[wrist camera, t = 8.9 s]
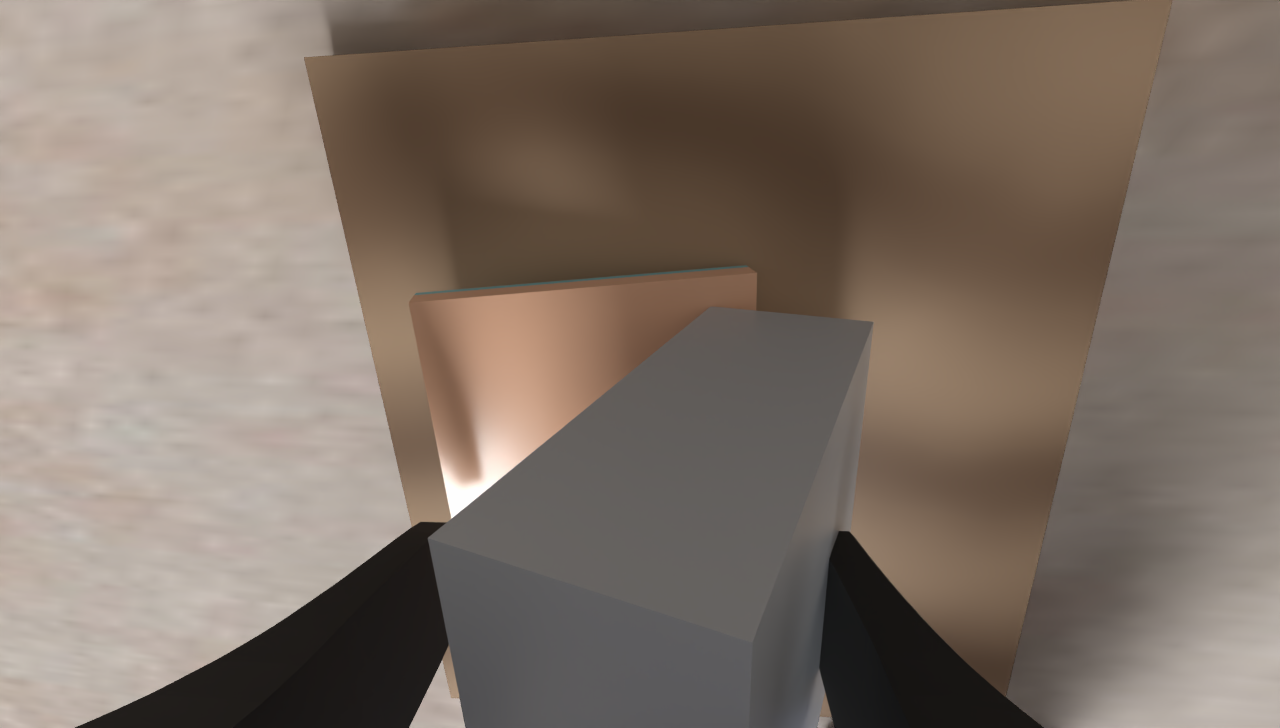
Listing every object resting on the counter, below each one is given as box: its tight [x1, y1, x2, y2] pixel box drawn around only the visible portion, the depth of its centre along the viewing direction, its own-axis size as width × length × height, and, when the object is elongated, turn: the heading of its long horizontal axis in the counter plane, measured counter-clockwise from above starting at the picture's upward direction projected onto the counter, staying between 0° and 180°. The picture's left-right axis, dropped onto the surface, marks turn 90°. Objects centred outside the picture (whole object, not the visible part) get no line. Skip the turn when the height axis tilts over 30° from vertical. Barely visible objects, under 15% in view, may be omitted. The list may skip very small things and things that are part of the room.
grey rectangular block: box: [428, 307, 874, 728], centre depth 11 cm, size 8×4×9 cm, turn 2°
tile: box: [409, 265, 757, 519], centre depth 16 cm, size 10×8×1 cm
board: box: [304, 0, 1172, 717], centre depth 17 cm, size 20×18×1 cm
